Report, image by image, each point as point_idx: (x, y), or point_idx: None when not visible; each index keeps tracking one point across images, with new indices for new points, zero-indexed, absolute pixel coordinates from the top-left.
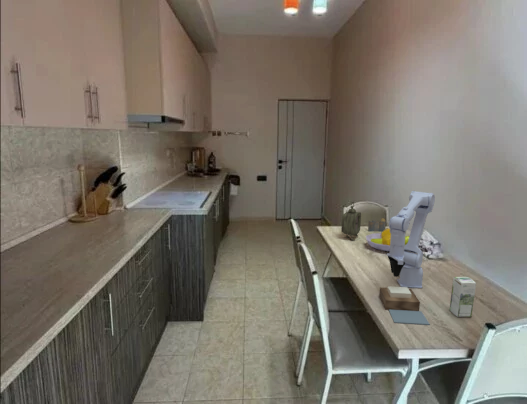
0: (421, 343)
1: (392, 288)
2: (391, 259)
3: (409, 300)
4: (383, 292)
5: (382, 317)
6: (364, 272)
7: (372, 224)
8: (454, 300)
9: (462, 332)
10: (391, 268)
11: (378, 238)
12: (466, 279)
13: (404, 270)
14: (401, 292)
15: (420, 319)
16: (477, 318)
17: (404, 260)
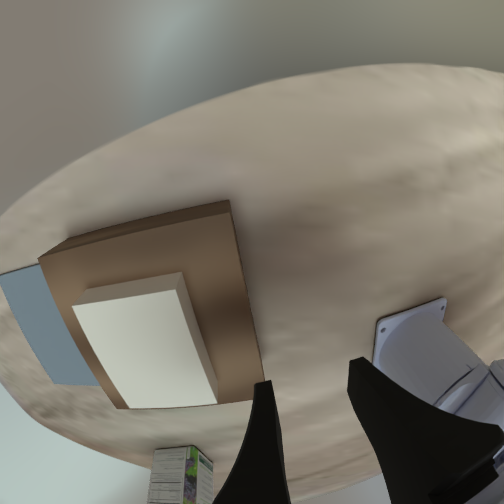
0: None
1: (147, 323)
2: (428, 475)
3: (105, 377)
4: (138, 242)
5: (8, 228)
6: (497, 147)
7: None
8: (170, 485)
9: (78, 432)
10: (371, 389)
11: None
12: None
13: (435, 383)
14: (113, 368)
15: (62, 367)
16: None
17: (475, 419)
